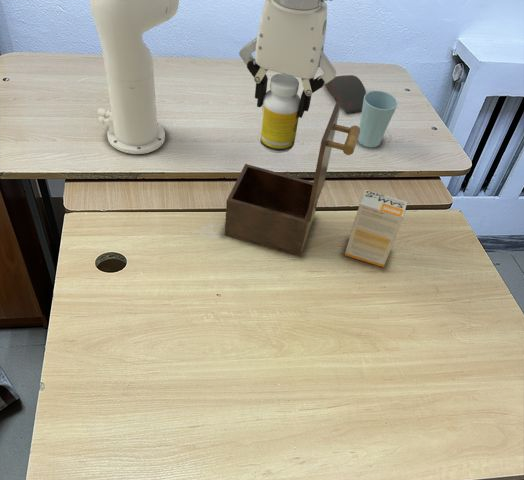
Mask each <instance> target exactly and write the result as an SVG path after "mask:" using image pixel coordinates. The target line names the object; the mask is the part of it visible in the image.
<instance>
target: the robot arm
mask: <svg viewBox="0 0 524 480" xmlns="http://www.w3.org/2000/svg"><path fill="white" fill-rule="evenodd" d="M327 1H328V0H264V2H263V7H262V10H261V15H260V20H259V26H258V30H257V37H255V38H254V39H252V40H250V41H249V42H248V43H247V44H245V45H243V46H242V47H241V49H240V50H239V51H238V55H239V56H240V58H241V60H242V61H243V63H244V65H246V69H247V70H248V71H249V73H250V74H251V76H252V77H253V81H254V83H255V91H254V99H257V101H256V107H257V108H262V106H263V98H264V95H265V94H266V93H267V92H268V81H269V78H268V75H267V72H268V71H272V72H275V73H278V74H287V75H291V76H294V77H295V78H300V80H301V84H302V87H303V90H302V93H301V94H300V105H299V111H298V116H299V118H300V119H302V118H303V116H304V115H305V114H304V113H305V112H309V110H310V107H311V101H312V95H313V94H314V93H315V92H317V91H318V90H320V89H322V88H323V87H324V86H326V85H325V84H327V83H328V82H330V81H331V80H333V79H334V78H335V77H336V75H337V70H336V68H335V67H334V66H333V64H332V63H331V61H330V59H328V57H327V55H326V54H325V52H324V50H325V49H324V48H325V42H326V41H325V40H326V35H327V34H326V33H327V23H328V4H327ZM329 1H330V2H333V0H329ZM179 5H180V0H89V6H90V12H91V16H92V19H93V21H94V24H95V27H96V31H97V34H98V38H99V41H100V46H101V51H102V57H103V58H102V59H103V64H104V70H105V76H106V77H105V78H106V83H107V90H108V97H109V98H108V99H109V105H110V110H108V109H107V108H102V107H98V109H97V111H96V115H97V123H98V124H102V125H106V126H107V127H108V129H107V133H106V134H107V140H108V143H109V144H110V146H112V147H113V148H114V149H116V150H118V151H120V152H122V153H126V154H130V155H145V154H149V153H152V152H155V151H156V150H158V149H159V148H161V147H162V146H163V144H164V143H165V140H166V132H165V129H164V127H163V126H162V125H161V124H160V123H159V122H158V111H157V99H156V83H155V68H154V60H153V59H154V58H153V55H152V52H151V50H150V48H149V47H148V46H147V44H146V43H145V41H144V39H143V35H144V33H145V32H148V31H150V30H151V29H154V28H155V27H157V26H160V25H162V24H164V23H166V22H168V21H170V20H172V19H173V17H174V16H176V14H177V13H178V10H179ZM253 53H254V55H252V54H253ZM319 68H320V69H321V71H322V72H323V74H321V75H319V76H317V77H316V74H317V72H318V69H319ZM315 77H316V78H315Z"/></svg>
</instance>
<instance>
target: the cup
mask: <svg viewBox="0 0 524 480" xmlns="http://www.w3.org/2000/svg"><path fill="white" fill-rule="evenodd" d="M398 103H399V102H398V100H397V98H396V97H395V96H394V95H393V94H391V93H388V92H386V91H383V90H370V91H368V92H366V94H365V96H364V101H363V107H362V111H361V113H360V119H359V120H360V121H359V125H358V127H359V128H360V134H359V137H358V140H357V142H358V143H359V144H360V145H361V146H362V147H363V146H364V147H366V148H377V147H378V146H380V144H381V143H382V140H383V138H384V135H385V134H386V131H387V128H388V126H389V124H390V123H391V120H392V118H393V115H394V114H395V112H396V109H397V107H398V105H399V104H398Z"/></svg>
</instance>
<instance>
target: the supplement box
mask: <svg viewBox="0 0 524 480" xmlns="http://www.w3.org/2000/svg"><path fill="white" fill-rule="evenodd" d="M407 205H408V201H406V200H403V199H400V198H395V197H393V196H389V195H386V194H383V193H380V192H375V191H373V190H370V189H364V192H363V194H362V197H361V200H360V202H359V204H358V209H357V212H356V215H355V217H354V222H353V225H352V229H351V231H350V232H351V233H350V235H349V238H348V242H347V244H346V249H345V253H344V256H345V257H349V258H352V259H355V260H359V261H362V262H364V263H367V264H372V265H374V266H378V267H381V268H384V267H385V265H386V263H387V260H388V258H389V255H390V253H391V251H392V247H393V245H394V244H395V240H396V237H397V235H398V232H399V230H400V228H401V225H402V222H403V220H404V217H405V214H406V209H407Z"/></svg>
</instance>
